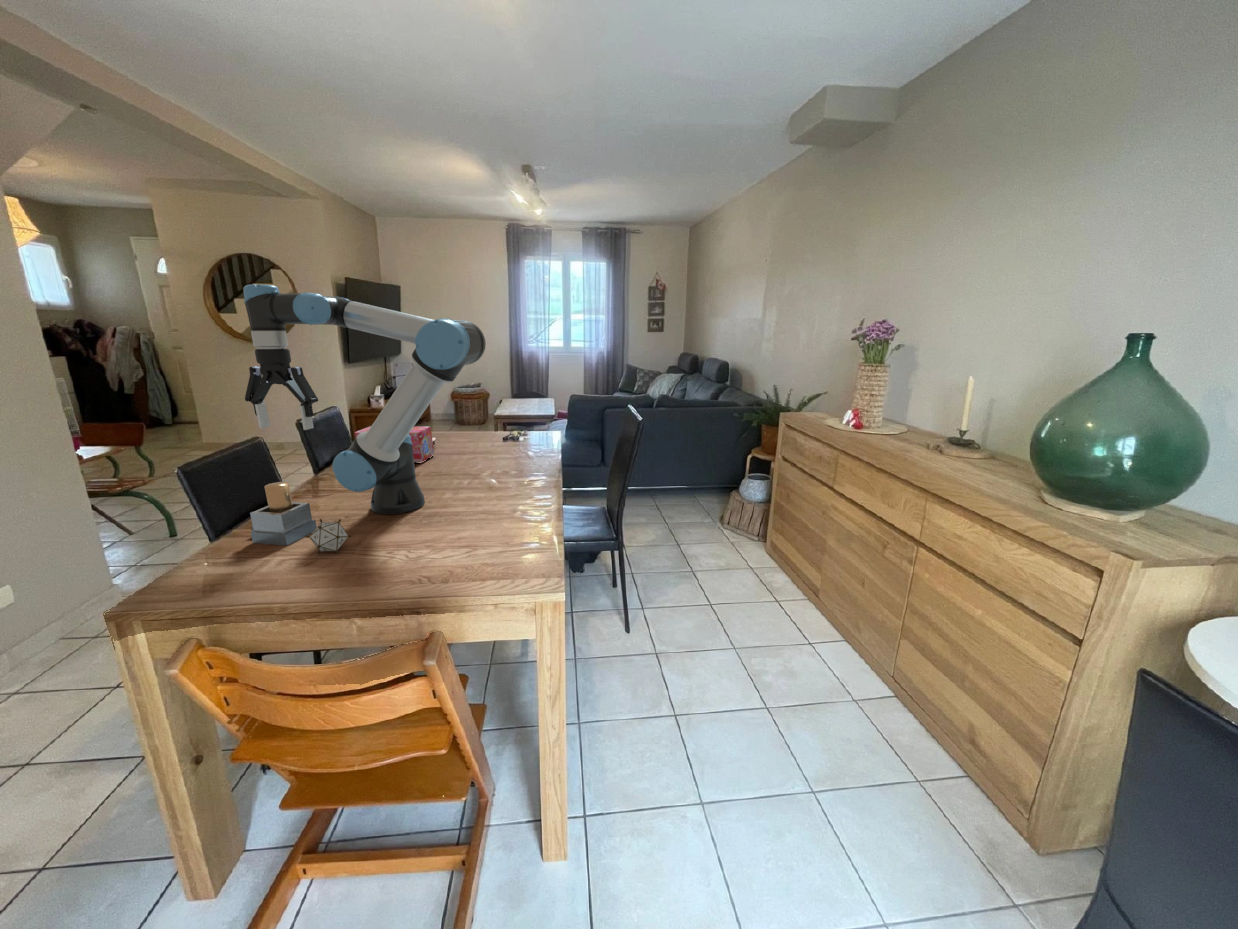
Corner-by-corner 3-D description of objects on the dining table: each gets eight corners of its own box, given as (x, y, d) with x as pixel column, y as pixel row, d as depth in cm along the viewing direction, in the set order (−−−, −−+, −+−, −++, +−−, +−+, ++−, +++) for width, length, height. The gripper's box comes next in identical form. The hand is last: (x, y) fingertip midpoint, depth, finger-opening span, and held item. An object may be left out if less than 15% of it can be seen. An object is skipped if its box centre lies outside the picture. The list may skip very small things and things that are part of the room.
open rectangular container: (317, 530, 132) (312, 502, 130) (287, 545, 122) (281, 516, 120) (274, 527, 134) (268, 499, 132) (241, 541, 125) (234, 512, 122)
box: (356, 464, 198) (352, 431, 195) (374, 456, 211) (369, 425, 207) (422, 465, 197) (418, 432, 193) (435, 456, 209) (432, 425, 206)
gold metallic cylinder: (301, 521, 130) (293, 482, 127) (285, 528, 125) (277, 487, 122) (284, 520, 131) (276, 481, 128) (267, 527, 126) (259, 487, 123)
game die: (332, 568, 118) (311, 549, 110) (313, 549, 122) (291, 529, 114) (364, 542, 123) (345, 522, 115) (344, 524, 126) (325, 504, 118)
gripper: (324, 347, 128) (337, 426, 134) (243, 347, 132) (259, 424, 138) (302, 348, 121) (316, 432, 126) (217, 348, 125) (234, 429, 130)
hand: (286, 428), depth 132 cm, fingers open, 13 cm apart
